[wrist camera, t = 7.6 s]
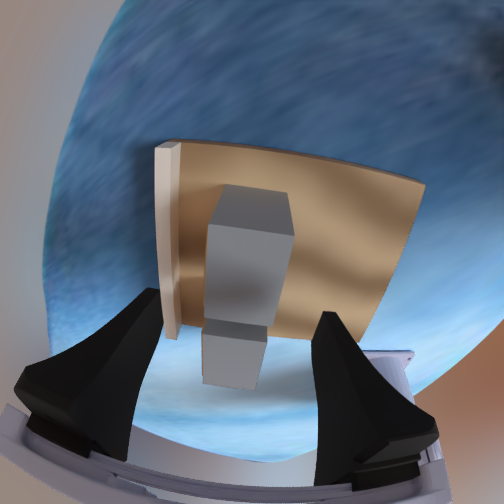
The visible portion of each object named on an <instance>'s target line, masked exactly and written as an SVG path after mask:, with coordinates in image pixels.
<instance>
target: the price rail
mask: <svg viewBox="0 0 504 504" xmlns="http://www.w3.org/2000/svg"><path fill="white" fill-rule="evenodd" d="M180 150H181V142H165V143H163V144H161V145H159V146H157V147H155V221H156V242H157V258H158V271H159V283H160V293H161V303H162V312H163V320H164V328H165V335H166V338H168V339H174V340H177V338H178V335H179V332H180V328H181V325H182V318H181V300H180V276H179V174H180Z"/></svg>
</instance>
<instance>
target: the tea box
mask: <svg viewBox="0 0 504 504" xmlns="http://www.w3.org/2000/svg"><path fill="white" fill-rule="evenodd" d="M294 238H295V233H294V228H293V222H292V216H291V210H290V205H289V199H288V194H287V193H286V192H280V191H273V190H267V189H260V188H253V187H246V186H239V185H231V184H226V185H225V187H224V189H223V192H222V193H221V195H220V197H219V200H218V202H217V204H216V206H215V209H214V211H213V213H212V215H211V218H210V220H209V222H208V225H207V231H206V248H205V267H204V291H203V306H204V318H211V319H217V320H224V321H231V322H238V323H245V324H253V325H261V326H269V327H272V326H273V323H274V319H275V315H276V311H277V307H278V303H279V300H280V296H281V292H282V288H283V284H284V280H285V276H286V272H287V267H288V263H289V259H290V255H291V251H292V247H293V242H294Z"/></svg>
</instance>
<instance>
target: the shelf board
mask: <svg viewBox="0 0 504 504" xmlns="http://www.w3.org/2000/svg"><path fill="white" fill-rule="evenodd" d="M167 142H181V150H180V174H179V276H180V300H181V318H182V324H184V325H190V326H197V327H203V324H204V320H205V318H204V306H203V291H204V267H205V248H206V231H207V225H208V222H209V220H210V218H211V215H212V213H213V211H214V209H215V206H216V204H217V202H218V200H219V197H220V195H221V193H222V192H223V189H224V187H225V185H226V184H231V185H239V186H246V187H253V188H260V189H267V190H273V191H280V192H286V193H287V194H288V199H289V205H290V210H291V216H292V222H293V228H294V233H295V238H294V242H293V247H292V251H291V255H290V259H289V263H288V267H287V272H286V276H285V280H284V284H283V288H282V292H281V296H280V300H279V303H278V307H277V311H276V315H275V319H274V323H273V326H272V327H269V326H267V336H273V337H283V338H294V339H306V340H312V338H313V335H314V333H315V330H316V328H317V325H318V323H319V320H320V317H321V315H322V312H323V311H332V312H336V313H337V314H338V316H339V317H340V319H341V320H342V322H343V323H344V325H345V327H346V328H347V330H348V331H349V333H350V334H351V336H352V337H353V339H354V340H355V342H360V340H361V338H362V337H363V335H364V333H365V331H366V329H367V327H368V325H369V323H370V321H371V320H372V318H373V316H374V314H375V312H376V310H377V308H378V306H379V304H380V302H381V299H382V297H383V295H384V293H385V291H386V289H387V287H388V284H389V282H390V280H391V278H392V276H393V273H394V271H395V269H396V266H397V264H398V262H399V259H400V257H401V254H402V252H403V249H404V247H405V244H406V242H407V239H408V237H409V234H410V231H411V229H412V226H413V223H414V220H415V218H416V215H417V212H418V209H419V206H420V203H421V200H422V197H423V193H424V190H425V187H426V185H424V184H423V183H422V182H420V181H419V180H416V179H412V178H409V177H406V176H402V175H398V174H395V173H391V172H387V171H383V170H380V169H376V168H372V167H367V166H363V165H359V164H355V163H350V162H346V161H341V160H336V159H331V158H326V157H321V156H316V155H311V154H305V153H299V152H293V151H287V150H281V149H274V148H267V147H259V146H251V145H243V144H234V143H224V142H213V141H201V140H186V139H171V140H169V141H167Z"/></svg>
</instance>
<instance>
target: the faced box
mask: <svg viewBox="0 0 504 504" xmlns="http://www.w3.org/2000/svg"><path fill="white" fill-rule="evenodd" d="M266 345H267V326H261V325H253V324H245V323H238V322H231V321H224V320H217V319H211V318H205V320H204V324H203V328H202V376H203V384H208V385H215V386H222V387H229V388H237V389H246V390H255V388H256V384H257V380H258V376H259V372H260V369H261V365H262V361H263V357H264V353H265V349H266Z"/></svg>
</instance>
